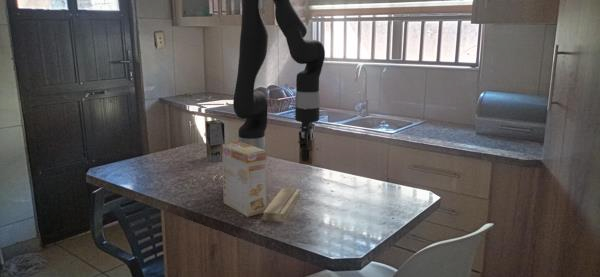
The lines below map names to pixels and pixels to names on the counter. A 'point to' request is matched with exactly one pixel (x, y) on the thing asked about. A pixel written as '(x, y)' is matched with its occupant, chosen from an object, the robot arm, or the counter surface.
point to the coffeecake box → (244, 178)
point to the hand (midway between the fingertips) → (306, 158)
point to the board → (281, 205)
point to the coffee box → (214, 139)
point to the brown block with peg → (311, 153)
